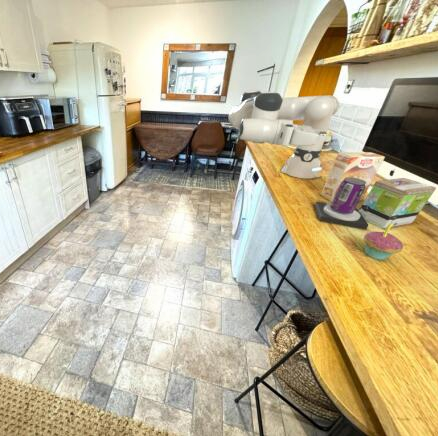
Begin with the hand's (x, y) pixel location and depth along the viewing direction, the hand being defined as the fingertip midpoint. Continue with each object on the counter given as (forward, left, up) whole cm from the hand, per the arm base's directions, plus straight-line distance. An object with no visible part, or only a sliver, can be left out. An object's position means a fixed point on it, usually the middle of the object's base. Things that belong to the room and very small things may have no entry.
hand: (328, 136), depth 84 cm
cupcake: (+26, +17, -28) cm, 42 cm away
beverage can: (+4, +12, -25) cm, 28 cm away
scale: (+3, +12, -28) cm, 31 cm away
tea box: (-2, +28, -28) cm, 40 cm away
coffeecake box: (-18, +17, -28) cm, 37 cm away
